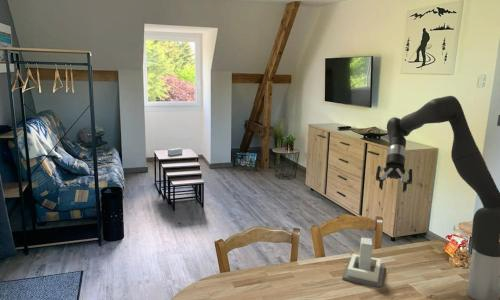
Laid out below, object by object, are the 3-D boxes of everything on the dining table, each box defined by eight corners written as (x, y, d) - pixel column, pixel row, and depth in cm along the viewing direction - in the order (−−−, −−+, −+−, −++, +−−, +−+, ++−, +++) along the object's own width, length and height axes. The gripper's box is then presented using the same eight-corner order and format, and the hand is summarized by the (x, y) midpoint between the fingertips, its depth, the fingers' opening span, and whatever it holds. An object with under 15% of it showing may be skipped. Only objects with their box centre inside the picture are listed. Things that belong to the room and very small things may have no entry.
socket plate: (384, 267, 154) (385, 258, 153) (381, 287, 140) (382, 277, 139) (349, 260, 160) (349, 251, 159) (342, 279, 145) (343, 269, 145)
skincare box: (370, 273, 147) (372, 245, 145) (358, 272, 148) (360, 243, 146) (369, 266, 153) (371, 238, 151) (358, 264, 154) (360, 237, 152)
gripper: (378, 151, 165) (374, 183, 157) (414, 154, 160) (411, 188, 152) (378, 160, 171) (374, 192, 163) (413, 163, 166) (410, 196, 158)
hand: (392, 190), depth 158 cm, fingers open, 8 cm apart
